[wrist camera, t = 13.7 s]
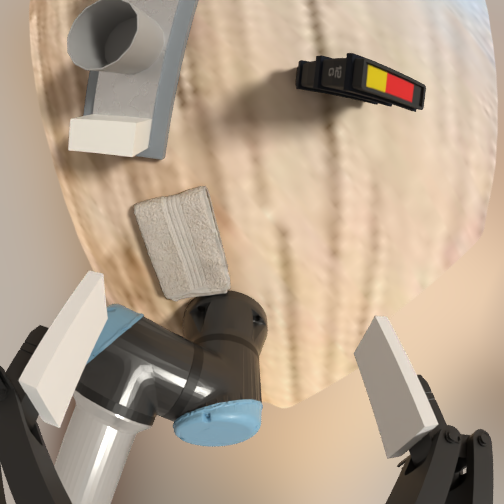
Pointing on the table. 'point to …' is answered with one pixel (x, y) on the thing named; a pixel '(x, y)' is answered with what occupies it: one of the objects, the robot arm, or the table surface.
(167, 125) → the rail board
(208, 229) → the washcloth
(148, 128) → the module
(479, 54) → the table surface
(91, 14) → the cup
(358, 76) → the black ribbed block
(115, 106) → the steel rail
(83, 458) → the robot arm
